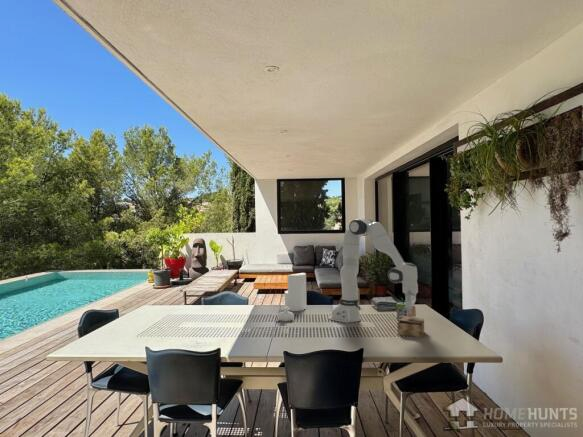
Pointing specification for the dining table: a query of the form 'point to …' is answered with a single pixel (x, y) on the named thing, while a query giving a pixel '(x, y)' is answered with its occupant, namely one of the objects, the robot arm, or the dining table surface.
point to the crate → (410, 329)
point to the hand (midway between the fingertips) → (410, 312)
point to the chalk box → (401, 309)
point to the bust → (285, 314)
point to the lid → (410, 319)
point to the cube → (412, 312)
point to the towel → (384, 303)
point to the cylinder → (296, 292)
